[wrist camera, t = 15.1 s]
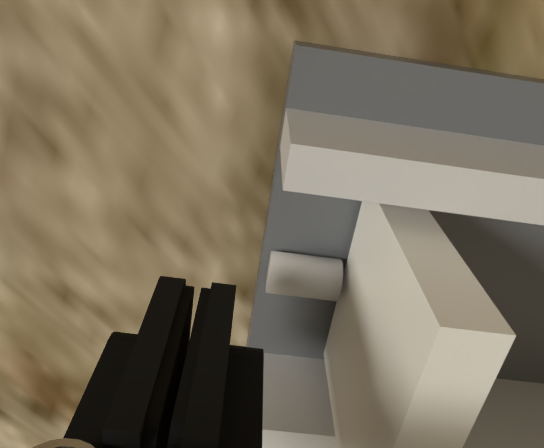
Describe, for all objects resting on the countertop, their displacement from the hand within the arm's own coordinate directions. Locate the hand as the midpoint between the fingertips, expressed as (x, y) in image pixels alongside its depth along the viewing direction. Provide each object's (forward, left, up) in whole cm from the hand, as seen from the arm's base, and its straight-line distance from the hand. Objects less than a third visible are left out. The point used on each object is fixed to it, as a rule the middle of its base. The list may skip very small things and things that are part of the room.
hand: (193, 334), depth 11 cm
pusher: (0, +5, -3) cm, 6 cm away
